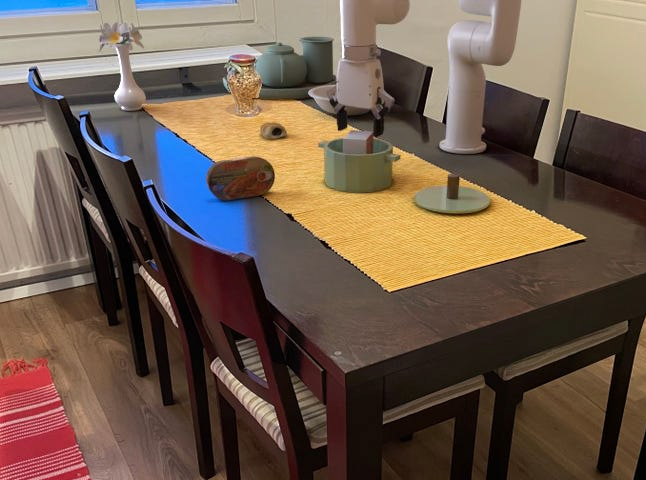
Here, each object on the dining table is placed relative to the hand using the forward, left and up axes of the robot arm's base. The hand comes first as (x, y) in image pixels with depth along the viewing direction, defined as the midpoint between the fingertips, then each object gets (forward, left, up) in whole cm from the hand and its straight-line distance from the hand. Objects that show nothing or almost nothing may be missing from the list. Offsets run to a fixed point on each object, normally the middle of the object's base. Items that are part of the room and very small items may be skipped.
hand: (360, 132), depth 169 cm
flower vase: (-21, -99, -12) cm, 102 cm away
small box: (+1, 0, -11) cm, 11 cm away
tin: (+24, -16, -12) cm, 31 cm away
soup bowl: (-54, -39, -12) cm, 68 cm away
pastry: (-20, -42, -12) cm, 48 cm away
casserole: (+1, 0, -11) cm, 11 cm away
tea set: (-72, -79, -12) cm, 108 cm away
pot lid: (+2, +25, -11) cm, 27 cm away
